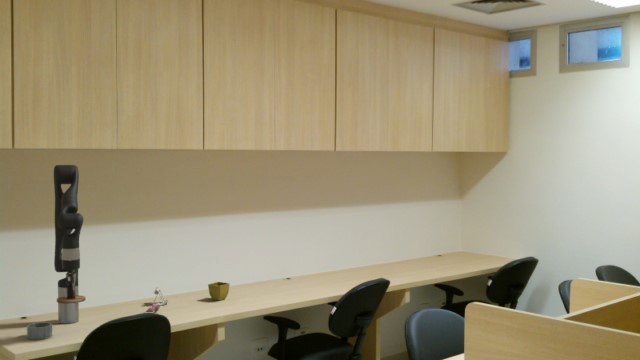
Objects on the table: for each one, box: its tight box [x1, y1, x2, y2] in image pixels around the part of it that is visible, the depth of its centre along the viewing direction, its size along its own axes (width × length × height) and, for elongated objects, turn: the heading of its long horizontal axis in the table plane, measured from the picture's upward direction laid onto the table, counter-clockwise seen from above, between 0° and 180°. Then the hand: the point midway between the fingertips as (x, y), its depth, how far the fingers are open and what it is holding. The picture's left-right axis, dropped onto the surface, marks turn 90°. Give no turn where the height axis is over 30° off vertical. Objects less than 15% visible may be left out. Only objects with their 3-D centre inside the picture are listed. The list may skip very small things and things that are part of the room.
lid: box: [56, 286, 86, 304], centre depth 292 cm, size 12×12×6 cm
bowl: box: [26, 321, 53, 340], centre depth 290 cm, size 10×10×5 cm
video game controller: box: [145, 303, 161, 314], centre depth 328 cm, size 10×5×7 cm, turn 170°
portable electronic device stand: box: [152, 287, 169, 306], centre depth 355 cm, size 9×8×8 cm
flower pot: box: [207, 281, 230, 301], centre depth 366 cm, size 9×9×9 cm
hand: (71, 296), depth 292 cm, fingers closed on lid, 3 cm apart
